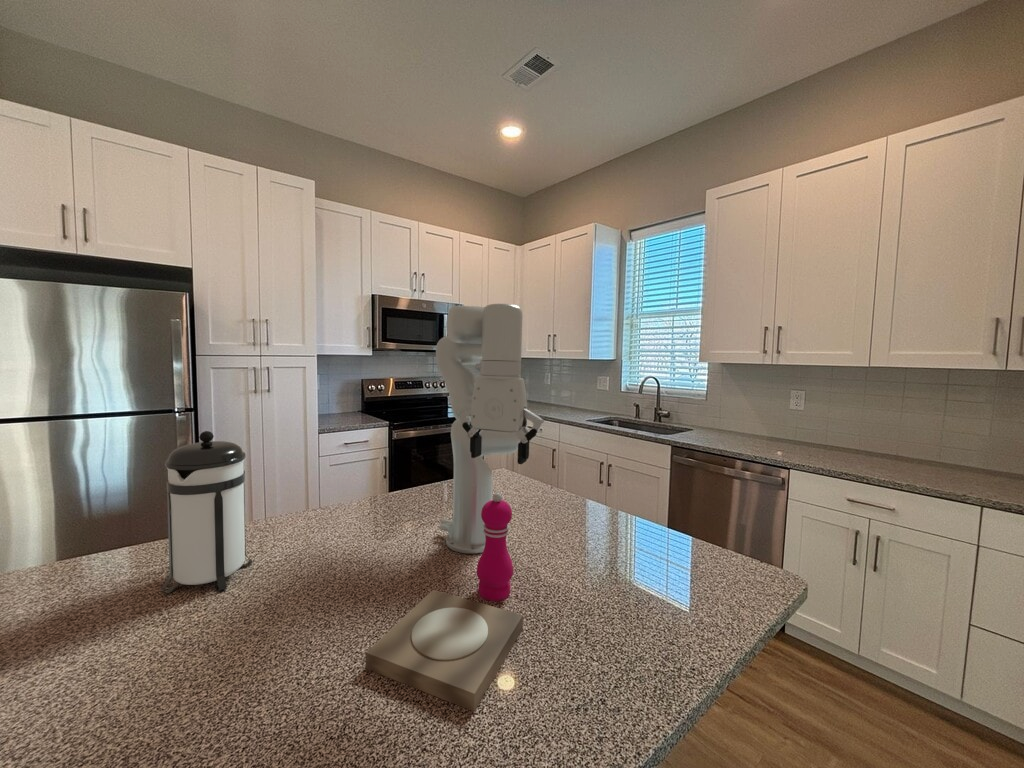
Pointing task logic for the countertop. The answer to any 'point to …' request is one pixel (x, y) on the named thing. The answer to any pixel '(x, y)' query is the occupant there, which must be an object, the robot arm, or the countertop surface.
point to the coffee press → (205, 512)
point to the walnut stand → (447, 647)
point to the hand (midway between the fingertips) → (498, 459)
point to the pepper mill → (495, 551)
